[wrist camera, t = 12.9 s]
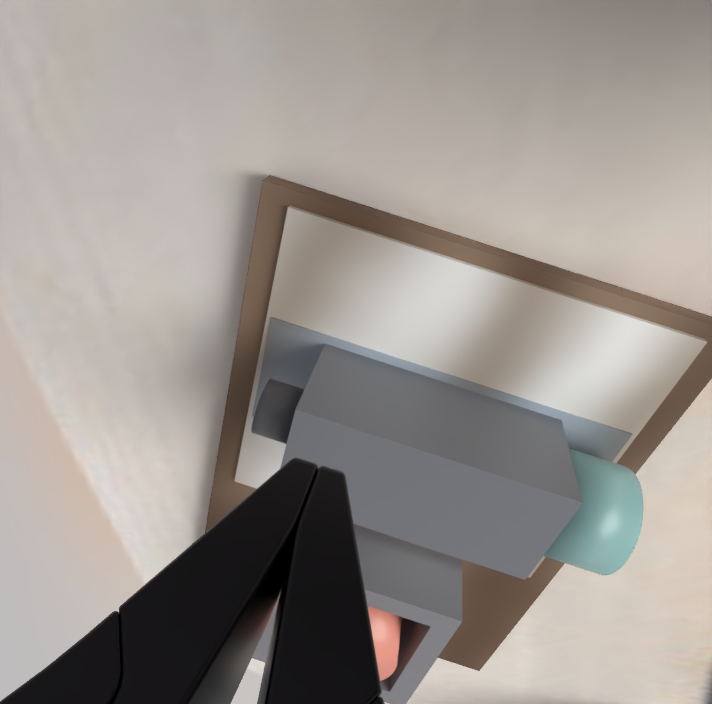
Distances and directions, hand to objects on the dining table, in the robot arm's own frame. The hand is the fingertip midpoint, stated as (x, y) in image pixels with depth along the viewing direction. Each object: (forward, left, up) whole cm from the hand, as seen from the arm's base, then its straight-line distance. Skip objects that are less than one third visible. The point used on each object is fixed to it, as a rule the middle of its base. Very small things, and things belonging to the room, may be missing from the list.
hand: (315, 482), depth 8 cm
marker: (-3, +6, -10) cm, 12 cm away
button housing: (-3, +17, -11) cm, 21 cm away
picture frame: (-3, +10, -11) cm, 15 cm away
